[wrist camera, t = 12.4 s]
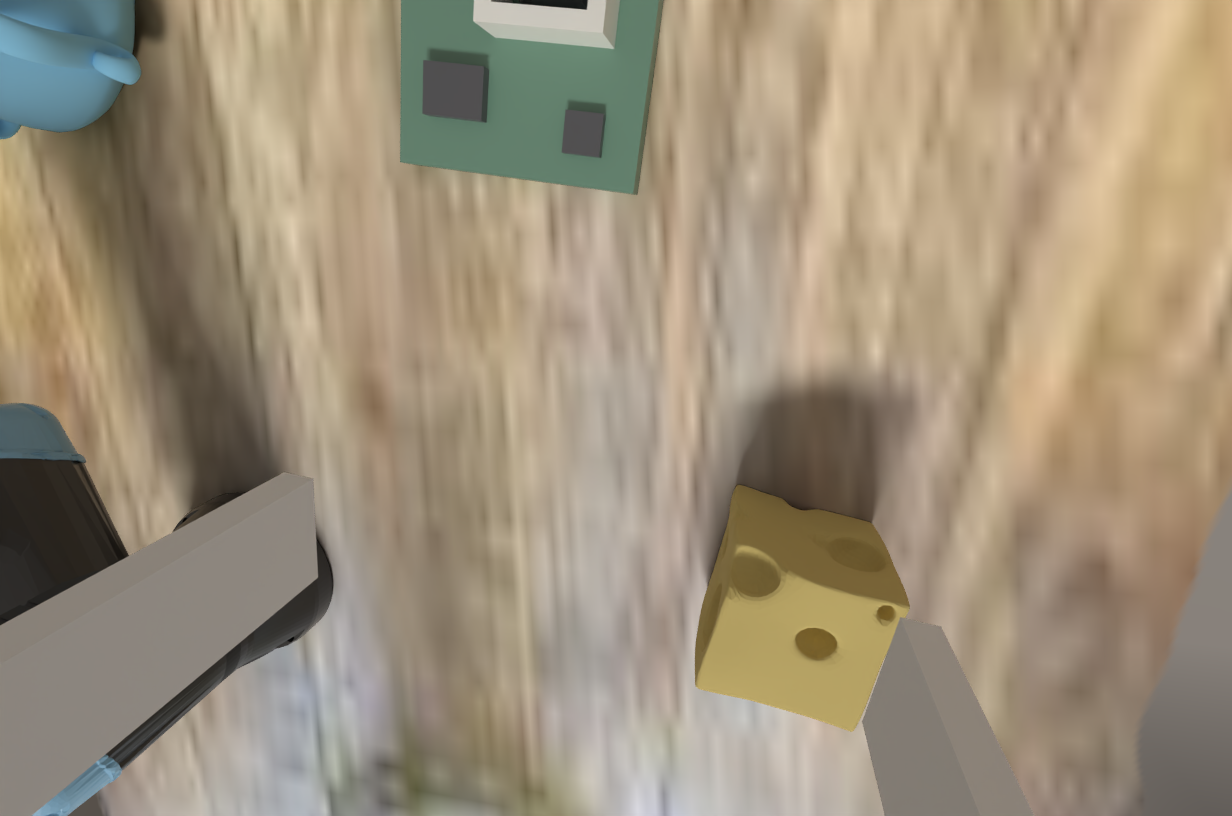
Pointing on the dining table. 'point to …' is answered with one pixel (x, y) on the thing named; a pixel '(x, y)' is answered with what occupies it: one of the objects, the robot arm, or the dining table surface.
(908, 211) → the dining table surface
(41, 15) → the decorative pot
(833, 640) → the cheese
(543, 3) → the plug
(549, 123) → the header board
